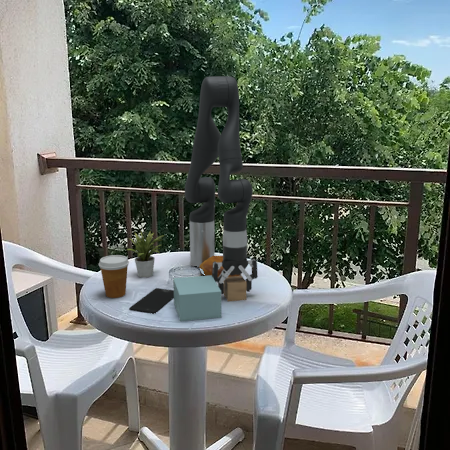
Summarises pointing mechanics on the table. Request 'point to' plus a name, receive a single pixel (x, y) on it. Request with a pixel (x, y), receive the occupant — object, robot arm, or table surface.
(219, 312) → the stand
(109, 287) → the disposable coffee cup
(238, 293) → the walnut cube
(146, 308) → the cell phone
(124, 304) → the table surface
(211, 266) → the croissant
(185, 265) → the table surface
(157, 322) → the table surface
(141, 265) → the house plant
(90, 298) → the table surface
